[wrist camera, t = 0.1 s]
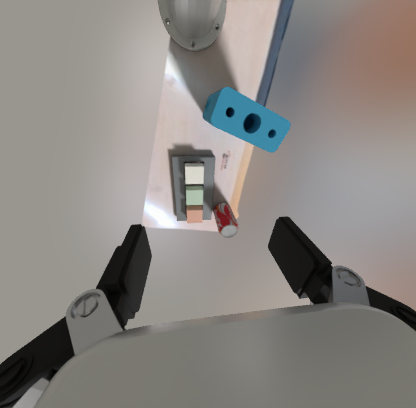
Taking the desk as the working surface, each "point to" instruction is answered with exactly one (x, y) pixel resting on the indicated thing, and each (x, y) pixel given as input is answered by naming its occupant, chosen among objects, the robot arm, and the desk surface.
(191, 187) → the sage button
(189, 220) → the terracotta button
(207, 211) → the button panel
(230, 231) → the beverage can
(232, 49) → the desk surface
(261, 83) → the desk surface
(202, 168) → the cream button
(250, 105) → the block
